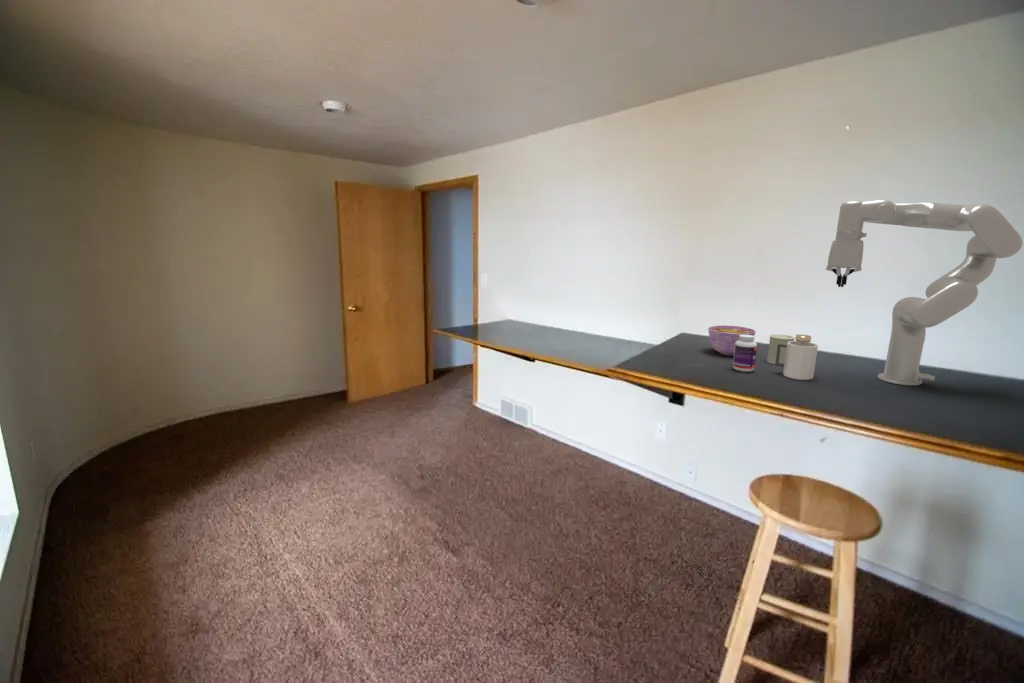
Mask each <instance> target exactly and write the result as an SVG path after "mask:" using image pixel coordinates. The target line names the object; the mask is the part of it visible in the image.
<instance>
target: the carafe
mask: <svg viewBox="0 0 1024 683" xmlns="http://www.w3.org/2000/svg"><path fill="white" fill-rule="evenodd" d="M818 346H819V344H817V343H814V342H804V346H801V342H798V341H795V340H794V341H790V342H788V343H787V344H780V343H778V347H777V355H776V363H775V364H774V366H775V367H782V368H783V373H782V375H783V376H784V377H786V378H790V379H794V380H800V381H810V380H813V379H814V375H815V367H816V360H817V354H818ZM781 347H786V348H787V349H786V357H785V364H783V363H779V358H780V350H781Z"/></svg>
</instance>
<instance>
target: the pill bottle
mask: <svg viewBox="0 0 1024 683" xmlns="http://www.w3.org/2000/svg"><path fill="white" fill-rule="evenodd" d="M739 339H740V340H738V341H736V343H735V351H734V356H733V362H732V367H733V369H734V370H735V371H738V372H742V373H743V372H746V373H748V372H749V373H750V372H753V371H754V370H755V368H756V361H757V360H756V359H757V350H758V344H757V342H756V341H755V335H754V336H752V335H739Z"/></svg>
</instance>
